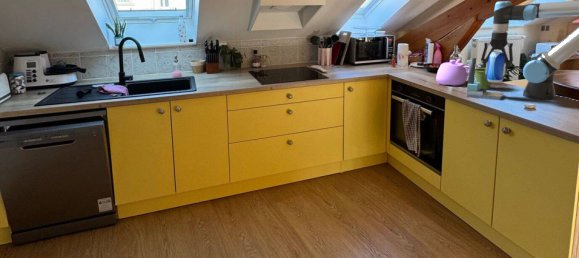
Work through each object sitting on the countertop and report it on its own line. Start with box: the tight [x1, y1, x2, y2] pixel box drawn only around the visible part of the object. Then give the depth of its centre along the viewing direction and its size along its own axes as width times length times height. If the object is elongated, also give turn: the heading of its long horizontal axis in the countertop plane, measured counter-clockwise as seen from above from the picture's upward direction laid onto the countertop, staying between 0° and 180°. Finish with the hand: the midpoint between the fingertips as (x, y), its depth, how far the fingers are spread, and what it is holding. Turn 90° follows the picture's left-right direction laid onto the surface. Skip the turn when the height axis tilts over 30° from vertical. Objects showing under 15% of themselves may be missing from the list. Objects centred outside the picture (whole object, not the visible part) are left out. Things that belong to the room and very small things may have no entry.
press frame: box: [466, 88, 505, 101], centre depth 237 cm, size 17×11×4 cm, turn 56°
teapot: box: [435, 58, 470, 87], centre depth 270 cm, size 23×21×15 cm
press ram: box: [466, 57, 480, 92], centre depth 238 cm, size 6×8×19 cm
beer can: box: [487, 50, 506, 83], centre depth 231 cm, size 8×8×16 cm
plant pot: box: [475, 67, 492, 90], centre depth 255 cm, size 12×12×11 cm
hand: (495, 74), depth 232 cm, fingers closed on beer can, 8 cm apart
